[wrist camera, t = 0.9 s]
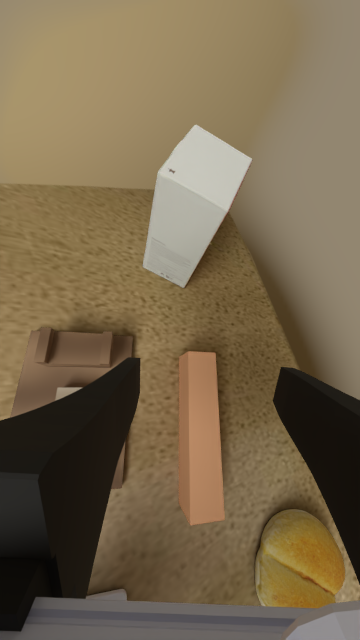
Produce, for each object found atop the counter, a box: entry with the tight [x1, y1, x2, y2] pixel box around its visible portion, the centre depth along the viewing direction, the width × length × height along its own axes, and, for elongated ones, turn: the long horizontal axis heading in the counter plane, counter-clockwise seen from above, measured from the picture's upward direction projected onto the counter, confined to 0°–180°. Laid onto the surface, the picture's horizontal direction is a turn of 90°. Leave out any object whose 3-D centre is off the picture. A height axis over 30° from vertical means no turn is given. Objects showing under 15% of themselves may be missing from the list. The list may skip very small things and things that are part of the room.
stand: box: [10, 327, 133, 489], centre depth 19 cm, size 14×10×4 cm
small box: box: [143, 125, 252, 288], centre depth 23 cm, size 8×6×13 cm
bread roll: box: [255, 509, 345, 608], centre depth 19 cm, size 8×9×4 cm
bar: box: [179, 351, 225, 525], centre depth 21 cm, size 14×3×4 cm, turn 0°
